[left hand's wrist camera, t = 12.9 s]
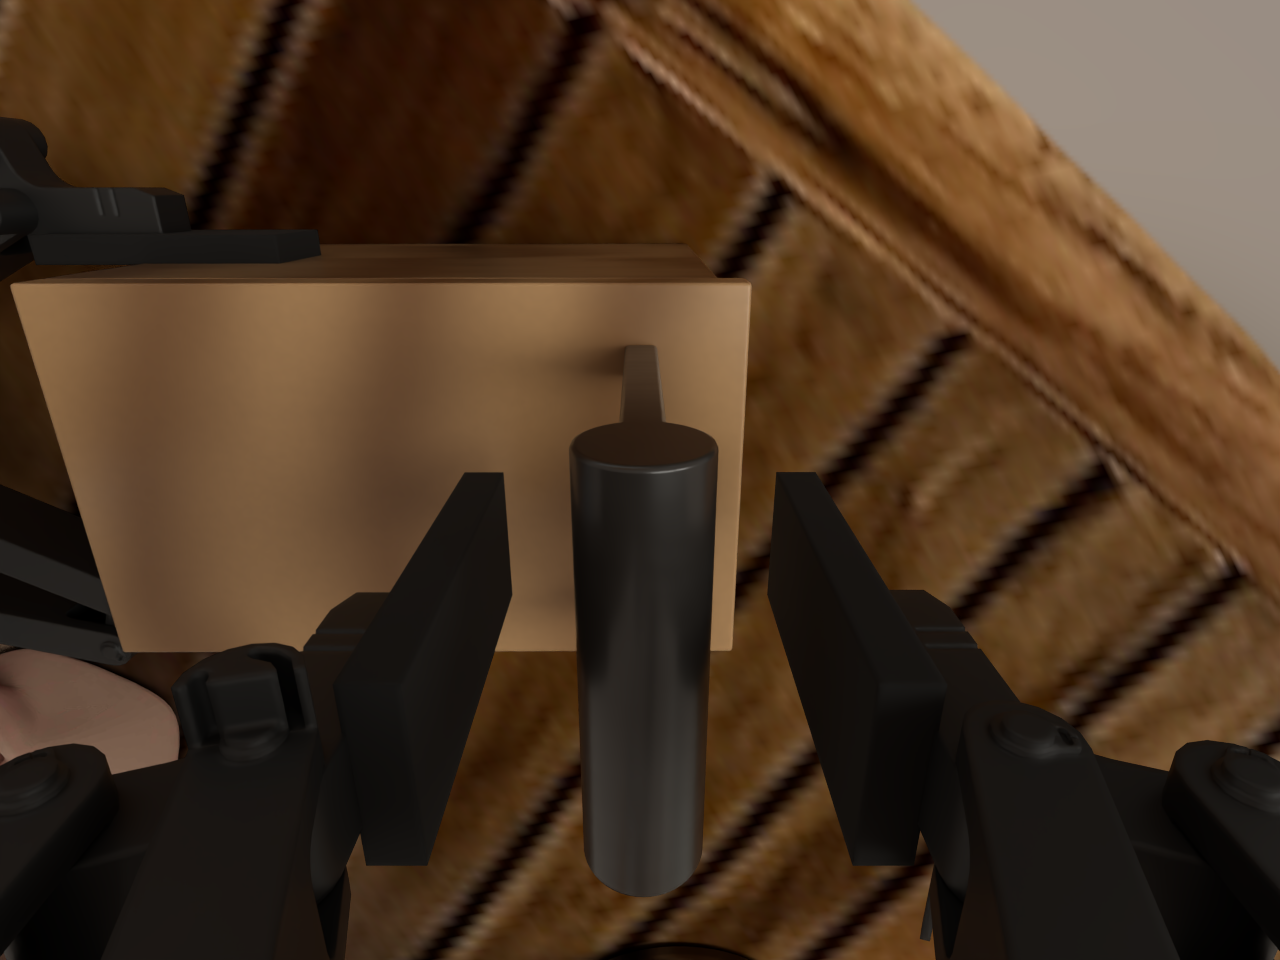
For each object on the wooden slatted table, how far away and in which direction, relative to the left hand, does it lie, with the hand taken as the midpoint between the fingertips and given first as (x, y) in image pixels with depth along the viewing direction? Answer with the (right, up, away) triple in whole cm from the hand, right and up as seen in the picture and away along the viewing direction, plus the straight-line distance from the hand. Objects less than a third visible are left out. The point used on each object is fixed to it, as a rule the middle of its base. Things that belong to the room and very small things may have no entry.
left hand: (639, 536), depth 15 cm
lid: (-5, +1, +3) cm, 7 cm away
